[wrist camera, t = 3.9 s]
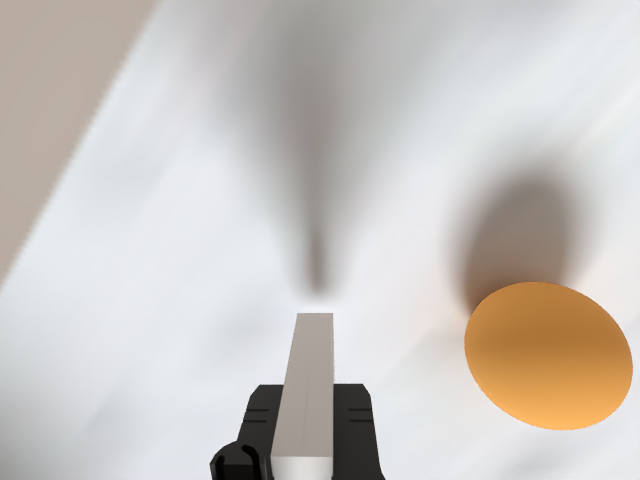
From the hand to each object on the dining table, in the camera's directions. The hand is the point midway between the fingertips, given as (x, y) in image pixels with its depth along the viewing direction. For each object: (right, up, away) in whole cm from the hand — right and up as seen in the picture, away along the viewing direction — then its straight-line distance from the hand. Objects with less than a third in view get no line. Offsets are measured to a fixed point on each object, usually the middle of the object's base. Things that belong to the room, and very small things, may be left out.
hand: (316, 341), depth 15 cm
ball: (+9, 0, -1) cm, 9 cm away
